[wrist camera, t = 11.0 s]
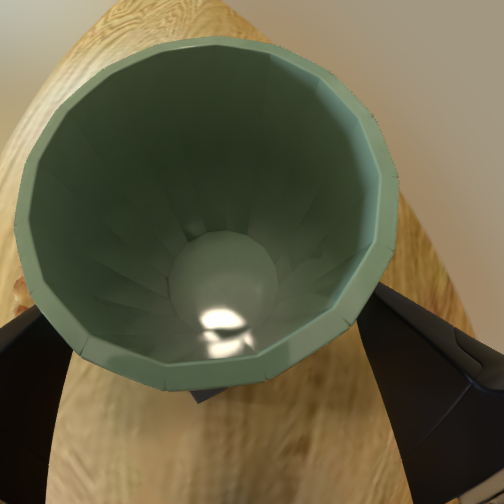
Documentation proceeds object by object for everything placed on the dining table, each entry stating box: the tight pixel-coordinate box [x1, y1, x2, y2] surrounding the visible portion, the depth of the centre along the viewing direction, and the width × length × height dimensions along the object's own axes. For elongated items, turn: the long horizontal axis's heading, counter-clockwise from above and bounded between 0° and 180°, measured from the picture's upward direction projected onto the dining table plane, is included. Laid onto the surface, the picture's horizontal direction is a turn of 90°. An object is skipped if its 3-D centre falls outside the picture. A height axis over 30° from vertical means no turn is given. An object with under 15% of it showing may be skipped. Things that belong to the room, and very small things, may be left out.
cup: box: [14, 36, 399, 392], centre depth 11 cm, size 7×7×13 cm
